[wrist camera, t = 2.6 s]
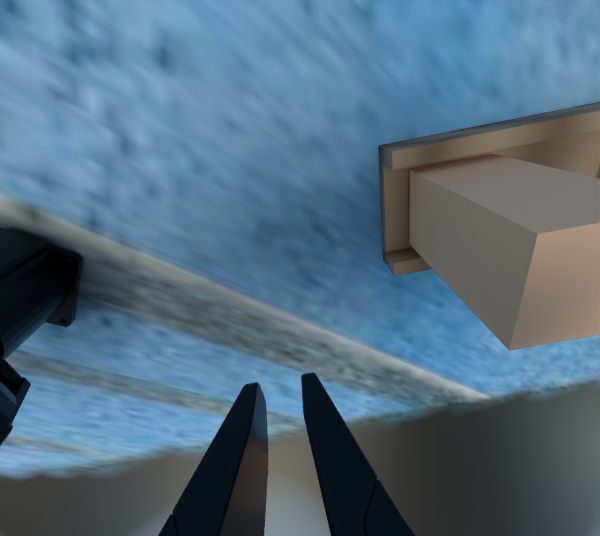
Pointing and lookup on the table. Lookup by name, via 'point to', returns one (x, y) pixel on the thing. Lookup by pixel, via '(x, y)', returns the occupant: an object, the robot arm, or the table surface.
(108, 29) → the table surface
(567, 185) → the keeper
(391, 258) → the rail
